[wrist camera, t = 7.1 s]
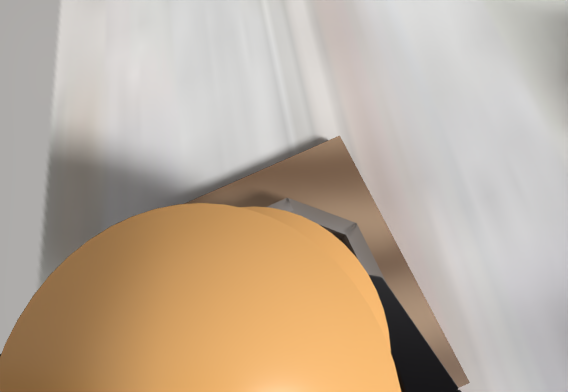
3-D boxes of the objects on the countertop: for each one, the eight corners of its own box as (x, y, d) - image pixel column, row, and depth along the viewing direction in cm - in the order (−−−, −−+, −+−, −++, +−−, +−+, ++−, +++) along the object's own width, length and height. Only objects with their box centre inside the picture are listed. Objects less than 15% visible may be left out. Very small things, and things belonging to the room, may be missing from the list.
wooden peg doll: (361, 290, 15) (600, 377, 3) (296, 379, 14) (199, 1087, 2) (279, 226, 16) (174, 71, 4) (216, 306, 16) (-177, 446, 3)
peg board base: (457, 373, 18) (496, 401, 14) (238, 473, 18) (217, 529, 14) (337, 144, 22) (343, 117, 18) (158, 223, 22) (125, 212, 18)
